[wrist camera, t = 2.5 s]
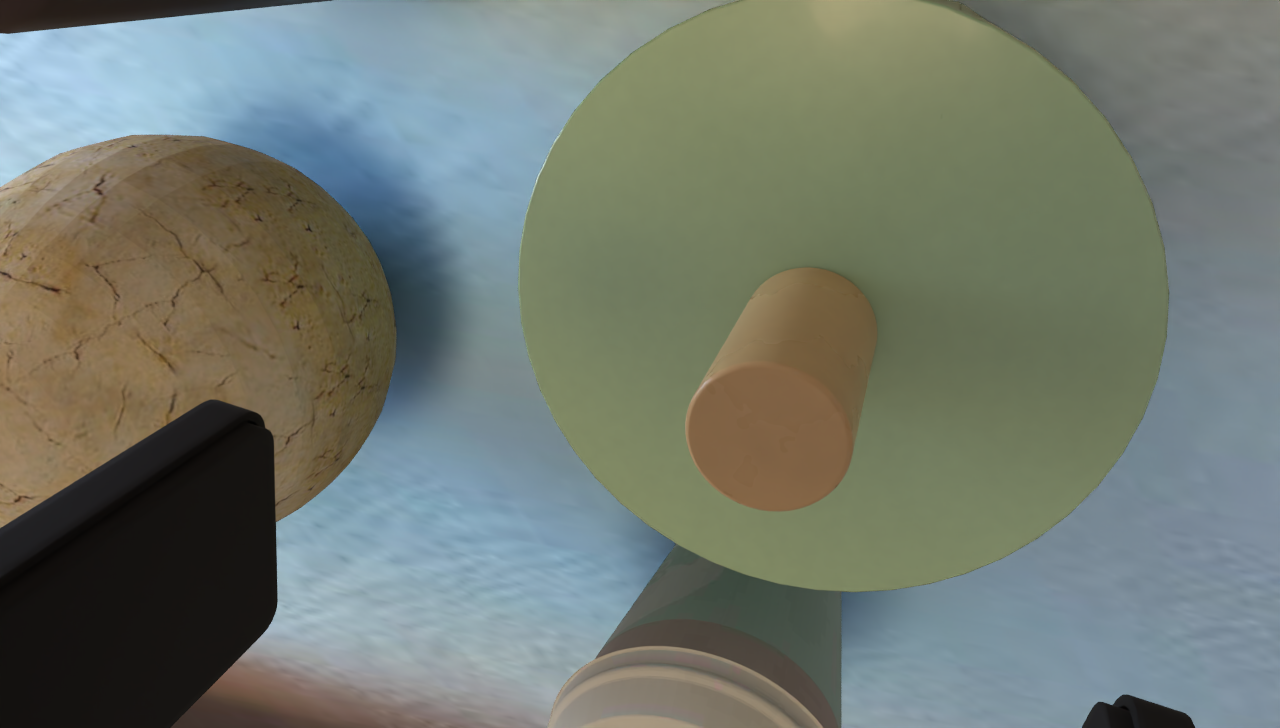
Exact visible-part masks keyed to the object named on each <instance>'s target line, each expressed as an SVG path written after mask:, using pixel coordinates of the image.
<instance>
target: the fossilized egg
mask: <svg viewBox="0 0 1280 728" xmlns="http://www.w3.org/2000/svg"><path fill="white" fill-rule="evenodd" d="M396 333H397V330H396V323H395V316H394V309H393V303H392V297H391V293H390V290H389V287H388V283H387V280H386V277H385V274H384V271H383V269H382V266H381V263H380V261H379V259H378V257H377V255H376V253H375V251H374V249H373V248H372V246H371V244H370V242H369V240H368V239H367V237H366V236H365V234H364V233H363V232H362V230H361V229H360V228H359V226H358V225H357V223H356V222H355V221H354V219H353V218H352V217H351V216H350V215H349V214H348V213H347V212H346V211H345V210H344V208H343V207H342V206H341V205H340V204H339V203H338V202H337V201H336V200H335V199H334V198H332V197H331V196H330V195H329V194H328V193H327V192H326V191H325V190H324V189H323V188H321V187H320V186H319V185H317V184H316V183H315V182H313V181H312V180H311V179H309V178H308V177H306V176H305V175H304V174H302V173H301V172H299V171H298V170H296V169H295V168H293V167H291V166H289V165H287V164H285V163H283V162H281V161H279V160H277V159H275V158H272V157H270V156H268V155H266V154H263V153H261V152H258V151H255V150H252V149H249V148H246V147H242V146H239V145H235V144H232V143H228V142H224V141H221V140H216V139H212V138H208V137H204V136H181V135H131V136H126V137H121V138H117V139H113V140H108V141H104V142H100V143H96V144H92V145H88V146H84V147H80V148H77V149H74V150H70V151H67V152H64V153H60V154H58V155H56V156H54V157H52V158H50V159H49V160H47V161H45V162H43V163H41V164H39V165H37V166H36V167H34V168H32V169H30V170H29V171H27V172H25V173H23V174H22V175H20V176H18V177H17V178H15V179H13V180H12V181H10V182H8V183H7V184H5V185H3V186H2V187H0V528H1V527H3V526H4V525H6V524H8V523H9V522H11V521H12V520H14V519H16V518H17V517H19V516H20V515H22V514H24V513H25V512H27V511H28V510H30V509H32V508H33V507H35V506H37V505H38V504H40V503H41V502H43V501H45V500H46V499H48V498H49V497H51V496H53V495H54V494H56V493H57V492H59V491H61V490H62V489H64V488H66V487H67V486H69V485H70V484H72V483H74V482H75V481H77V480H78V479H80V478H82V477H83V476H85V475H86V474H88V473H90V472H91V471H93V470H95V469H96V468H98V467H99V466H101V465H103V464H104V463H106V462H107V461H109V460H111V459H112V458H114V457H115V456H117V455H119V454H120V453H122V452H124V451H125V450H127V449H128V448H130V447H132V446H133V445H135V444H136V443H138V442H140V441H141V440H143V439H144V438H146V437H148V436H149V435H151V434H153V433H154V432H156V431H157V430H159V429H161V428H162V427H164V426H165V425H167V424H169V423H170V422H172V421H173V420H175V419H177V418H178V417H180V416H182V415H183V414H185V413H186V412H188V411H190V410H191V409H193V408H194V407H196V406H198V405H199V404H201V403H203V402H205V401H207V400H210V399H212V400H220V401H223V402H226V403H229V404H232V405H235V406H238V407H242V408H245V409H248V410H251V411H254V412H256V413H258V414H260V415H261V416H262V418H263V420H264V423H265V428H266V429H268V430H270V431H271V433H272V435H273V439H274V465H275V511H276V522H277V521H279V520H281V519H282V518H284V517H286V516H288V515H289V514H291V513H293V512H294V511H296V510H298V509H299V508H301V507H302V506H304V505H305V504H306V503H307V502H309V501H310V500H311V499H313V498H314V497H315V496H316V495H318V494H319V493H320V492H321V491H322V490H323V489H325V488H326V487H327V486H328V485H329V484H330V483H331V482H332V481H333V480H334V479H335V478H336V477H337V476H338V475H339V474H340V473H341V472H342V471H343V470H344V469H345V468H346V467H347V466H348V464H349V463H350V462H351V461H352V459H353V458H354V457H355V455H356V454H357V453H358V451H359V450H360V448H361V447H362V445H363V444H364V442H365V440H366V439H367V437H368V436H369V434H370V432H371V430H372V429H373V427H374V425H375V423H376V421H377V419H378V417H379V415H380V413H381V412H382V408H383V405H384V402H385V399H386V395H387V392H388V388H389V384H390V380H391V376H392V372H393V367H394V363H395V358H396Z"/></svg>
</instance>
